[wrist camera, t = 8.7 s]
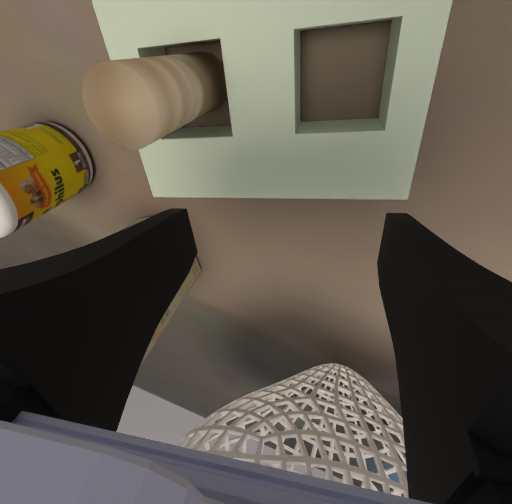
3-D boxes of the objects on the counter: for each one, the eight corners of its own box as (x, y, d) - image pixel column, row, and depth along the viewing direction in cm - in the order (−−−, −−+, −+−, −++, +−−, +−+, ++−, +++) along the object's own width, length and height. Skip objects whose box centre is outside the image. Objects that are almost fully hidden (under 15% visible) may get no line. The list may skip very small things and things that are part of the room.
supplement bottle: (88, 201, 25) (-26, 276, 17) (28, 161, 24) (-124, 222, 16) (104, 151, 22) (-27, 214, 14) (36, 102, 21) (-149, 141, 13)
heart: (517, 392, 28) (834, 1011, 10) (402, 440, 37) (462, 802, 19) (252, 261, 25) (63, 758, 8) (202, 348, 35) (65, 660, 17)
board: (454, -103, 12) (483, -139, 10) (398, 179, 19) (407, 199, 16) (115, -35, 16) (76, -49, 13) (172, 180, 22) (153, 196, 20)
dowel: (229, 53, 17) (150, 62, 10) (230, 110, 19) (163, 153, 11) (180, 50, 17) (70, 58, 10) (185, 106, 19) (95, 146, 12)
